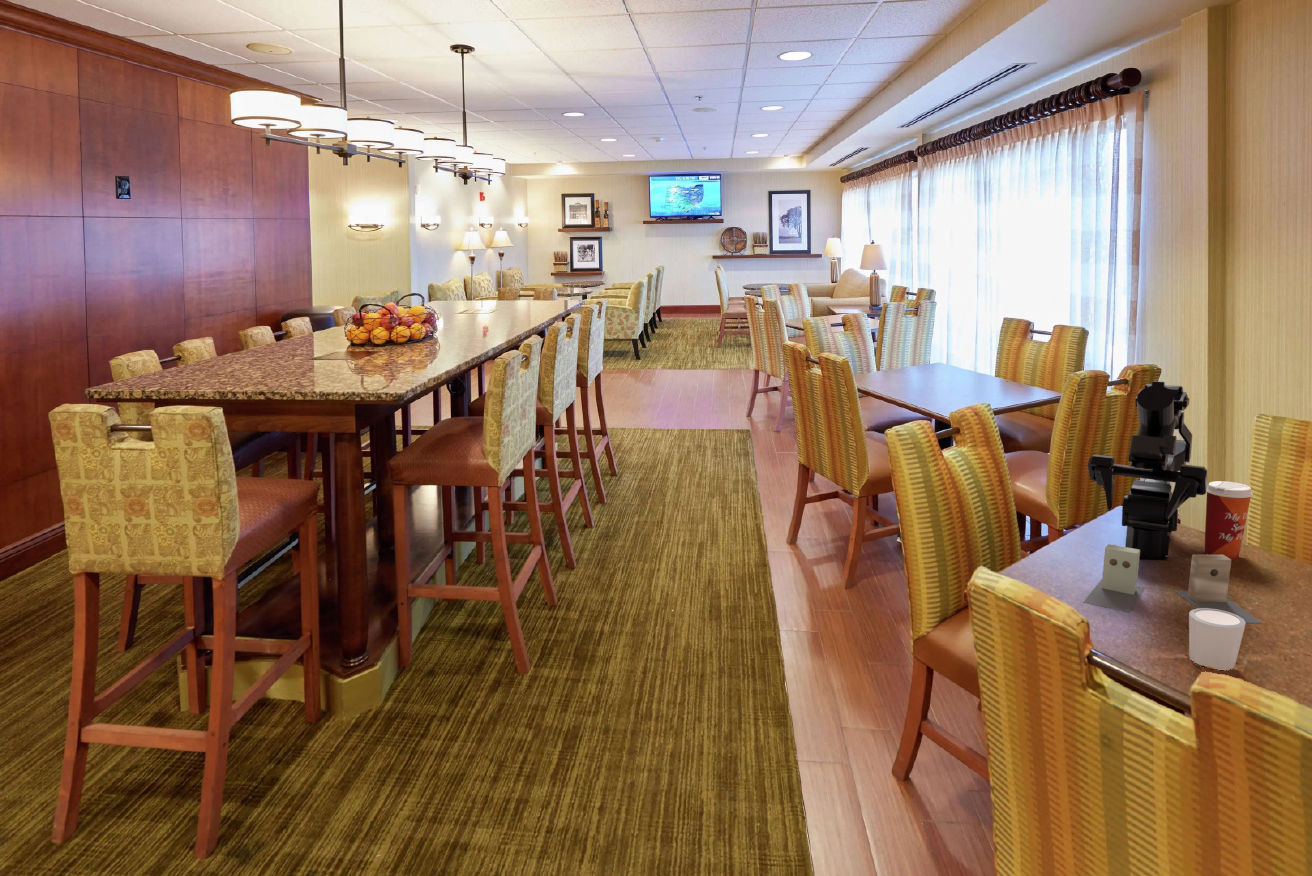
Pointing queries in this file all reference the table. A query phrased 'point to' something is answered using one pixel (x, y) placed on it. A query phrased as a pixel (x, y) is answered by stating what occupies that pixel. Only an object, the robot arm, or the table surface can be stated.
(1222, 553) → the paper cup
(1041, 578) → the table surface
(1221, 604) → the pair of gray tiles
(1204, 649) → the white cup
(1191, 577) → the cream tile
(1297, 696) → the table surface
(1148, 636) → the table surface
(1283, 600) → the table surface
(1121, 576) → the sage tile
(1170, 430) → the robot arm
